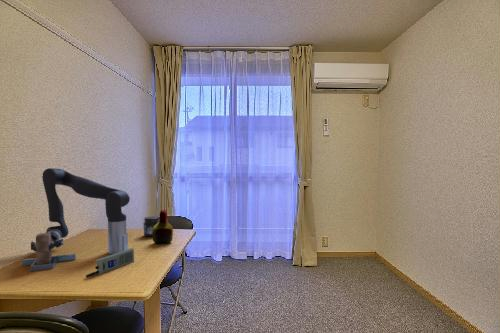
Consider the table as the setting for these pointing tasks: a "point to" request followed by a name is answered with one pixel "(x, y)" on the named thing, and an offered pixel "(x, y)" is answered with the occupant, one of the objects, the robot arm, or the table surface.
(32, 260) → the keeper
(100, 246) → the table surface
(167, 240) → the bottle
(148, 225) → the supplement container
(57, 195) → the robot arm
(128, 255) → the handheld radio
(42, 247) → the block
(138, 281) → the table surface
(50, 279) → the table surface
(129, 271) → the table surface
